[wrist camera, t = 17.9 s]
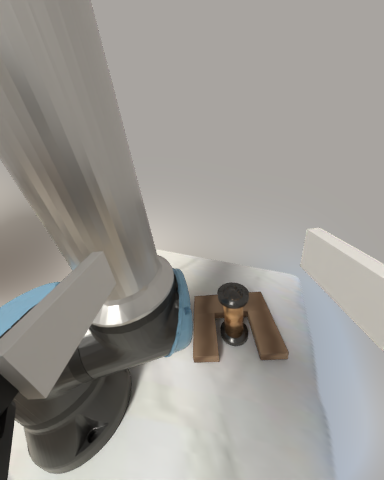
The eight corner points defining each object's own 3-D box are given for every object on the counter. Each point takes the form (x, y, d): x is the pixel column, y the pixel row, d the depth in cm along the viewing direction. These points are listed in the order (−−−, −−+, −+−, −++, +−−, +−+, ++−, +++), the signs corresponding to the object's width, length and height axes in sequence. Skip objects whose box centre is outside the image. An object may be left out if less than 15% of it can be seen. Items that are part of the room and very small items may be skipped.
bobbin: (222, 346, 36) (219, 305, 31) (219, 322, 42) (216, 283, 36) (251, 345, 36) (252, 303, 31) (244, 320, 41) (244, 281, 36)
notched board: (194, 362, 34) (193, 356, 33) (195, 301, 48) (194, 296, 48) (287, 359, 33) (288, 352, 32) (260, 297, 47) (260, 291, 46)
